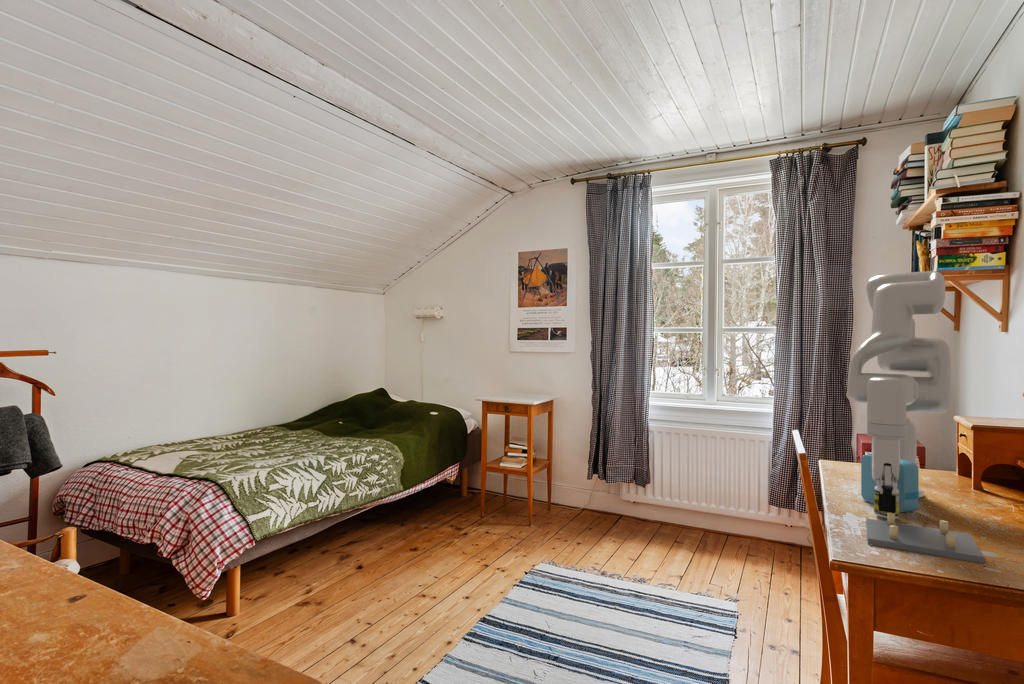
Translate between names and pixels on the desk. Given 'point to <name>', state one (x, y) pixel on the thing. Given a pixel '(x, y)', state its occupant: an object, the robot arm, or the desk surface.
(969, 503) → the desk surface
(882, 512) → the supplement bottle
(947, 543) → the chassis plate
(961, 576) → the desk surface
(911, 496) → the data package
